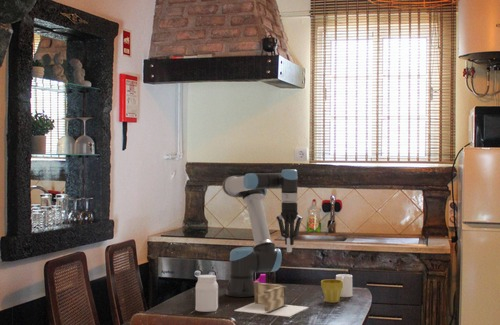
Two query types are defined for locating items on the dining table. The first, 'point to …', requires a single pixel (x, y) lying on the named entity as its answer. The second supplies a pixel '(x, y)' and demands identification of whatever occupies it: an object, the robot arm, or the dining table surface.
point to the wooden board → (275, 298)
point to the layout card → (280, 311)
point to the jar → (206, 293)
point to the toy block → (261, 278)
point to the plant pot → (332, 289)
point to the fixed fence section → (262, 291)
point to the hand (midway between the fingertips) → (289, 251)
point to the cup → (345, 284)
